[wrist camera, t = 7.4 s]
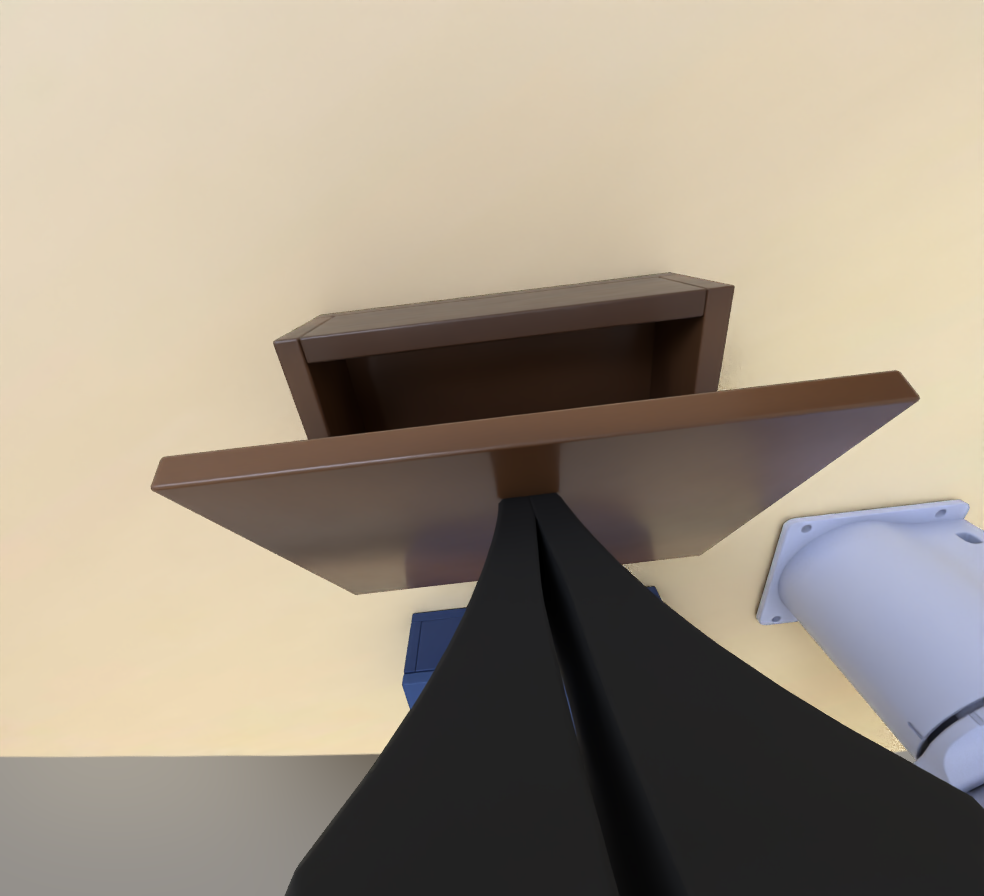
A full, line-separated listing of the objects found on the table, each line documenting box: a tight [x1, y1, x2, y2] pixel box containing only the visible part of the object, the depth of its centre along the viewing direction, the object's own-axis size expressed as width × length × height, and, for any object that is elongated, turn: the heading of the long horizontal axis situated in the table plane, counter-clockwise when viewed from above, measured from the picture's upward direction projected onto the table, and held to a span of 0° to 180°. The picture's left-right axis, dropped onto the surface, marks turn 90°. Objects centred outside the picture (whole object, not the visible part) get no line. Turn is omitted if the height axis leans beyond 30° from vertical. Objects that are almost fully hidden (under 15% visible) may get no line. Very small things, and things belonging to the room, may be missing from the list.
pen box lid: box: [151, 370, 920, 595], centre depth 12 cm, size 10×14×1 cm
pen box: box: [273, 273, 734, 440], centre depth 16 cm, size 10×14×4 cm
